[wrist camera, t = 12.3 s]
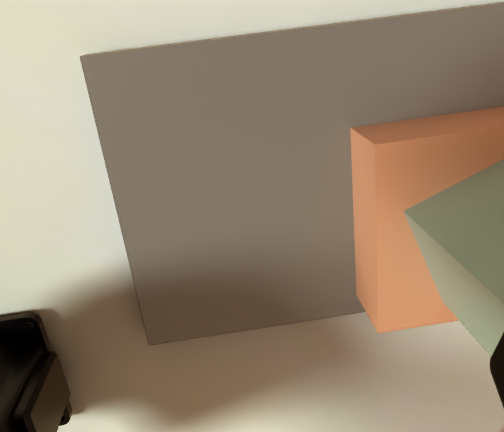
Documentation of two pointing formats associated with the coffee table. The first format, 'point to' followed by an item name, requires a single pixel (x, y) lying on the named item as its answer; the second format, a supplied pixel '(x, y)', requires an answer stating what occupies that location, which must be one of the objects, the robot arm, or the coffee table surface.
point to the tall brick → (467, 250)
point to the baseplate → (295, 165)
